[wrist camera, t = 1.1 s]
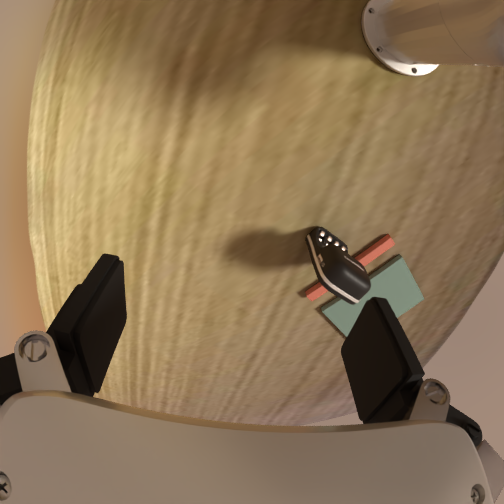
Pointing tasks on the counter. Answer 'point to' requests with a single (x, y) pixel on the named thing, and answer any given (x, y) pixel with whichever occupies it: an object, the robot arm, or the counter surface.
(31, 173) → the counter surface
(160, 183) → the counter surface
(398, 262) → the mat
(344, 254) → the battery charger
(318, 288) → the bar
